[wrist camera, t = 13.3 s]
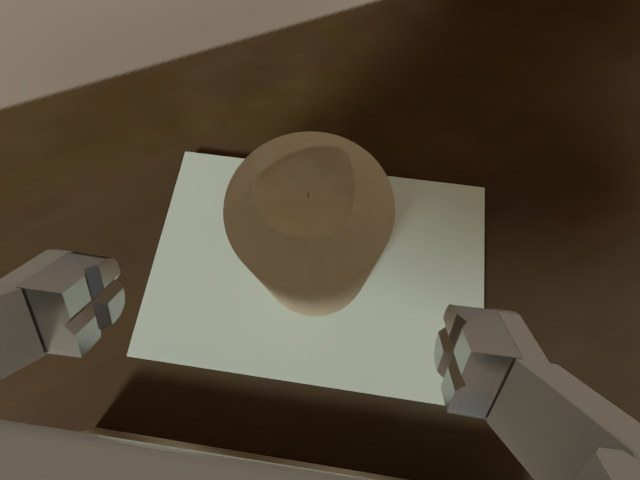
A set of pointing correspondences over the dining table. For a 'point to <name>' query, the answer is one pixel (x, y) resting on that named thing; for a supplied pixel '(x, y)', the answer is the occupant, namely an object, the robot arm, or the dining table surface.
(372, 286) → the sage mat
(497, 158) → the dining table surface
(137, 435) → the socket block
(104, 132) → the dining table surface
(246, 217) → the candle
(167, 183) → the dining table surface
